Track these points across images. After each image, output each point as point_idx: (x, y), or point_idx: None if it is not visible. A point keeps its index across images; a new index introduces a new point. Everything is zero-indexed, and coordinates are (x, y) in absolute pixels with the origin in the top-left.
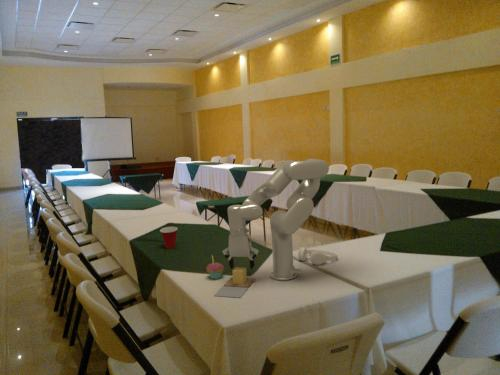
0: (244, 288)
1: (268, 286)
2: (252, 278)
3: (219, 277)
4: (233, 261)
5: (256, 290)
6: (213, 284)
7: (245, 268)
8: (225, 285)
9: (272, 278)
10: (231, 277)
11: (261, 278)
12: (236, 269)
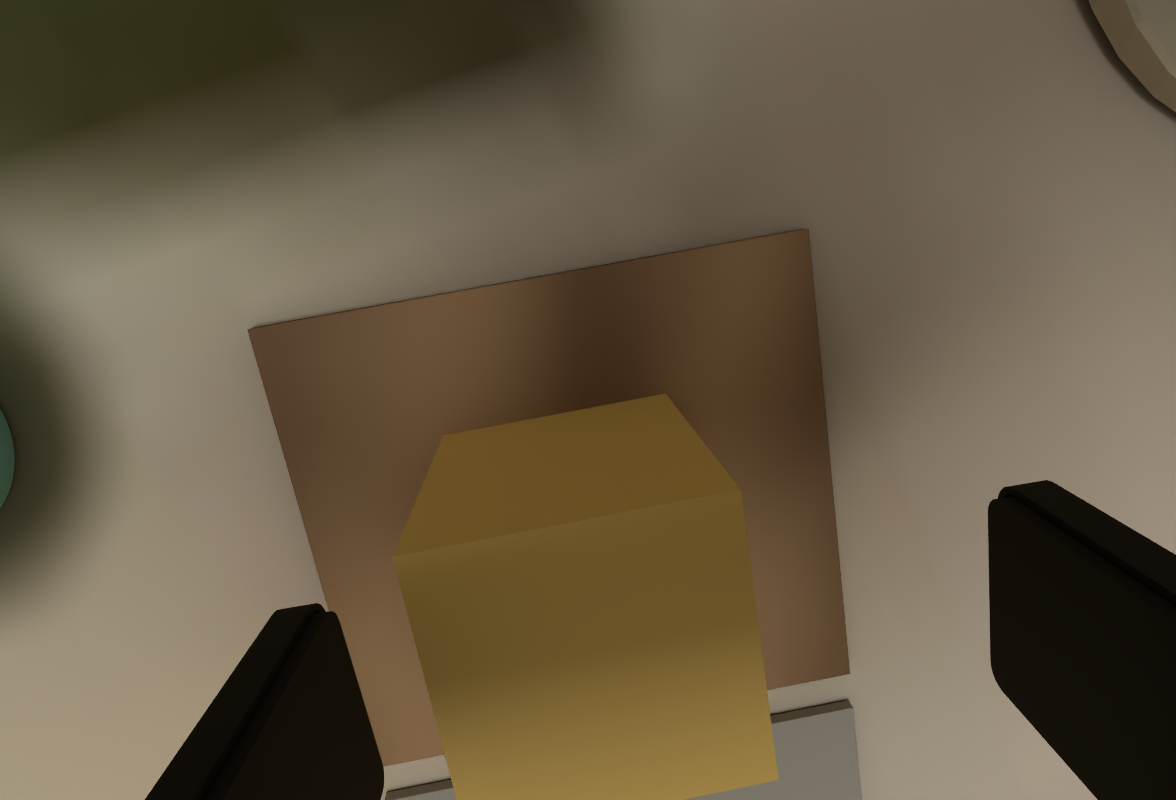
0: (801, 752)
1: (1155, 496)
2: (741, 258)
3: (10, 468)
4: (259, 731)
5: (1006, 715)
6: (147, 768)
7: (748, 550)
8: (408, 759)
9: (1152, 91)
10: (262, 363)
11: (906, 147)
12: (522, 717)
